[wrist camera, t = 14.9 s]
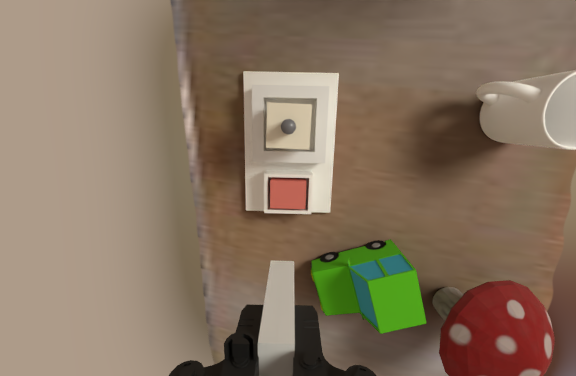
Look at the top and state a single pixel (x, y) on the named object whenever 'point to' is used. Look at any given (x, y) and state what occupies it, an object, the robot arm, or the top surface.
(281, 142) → the plug
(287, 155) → the socket plate
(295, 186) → the switch
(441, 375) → the top surface
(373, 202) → the top surface
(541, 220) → the top surface
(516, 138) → the mug
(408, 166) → the top surface
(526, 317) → the decorative mushroom
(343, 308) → the toy car
